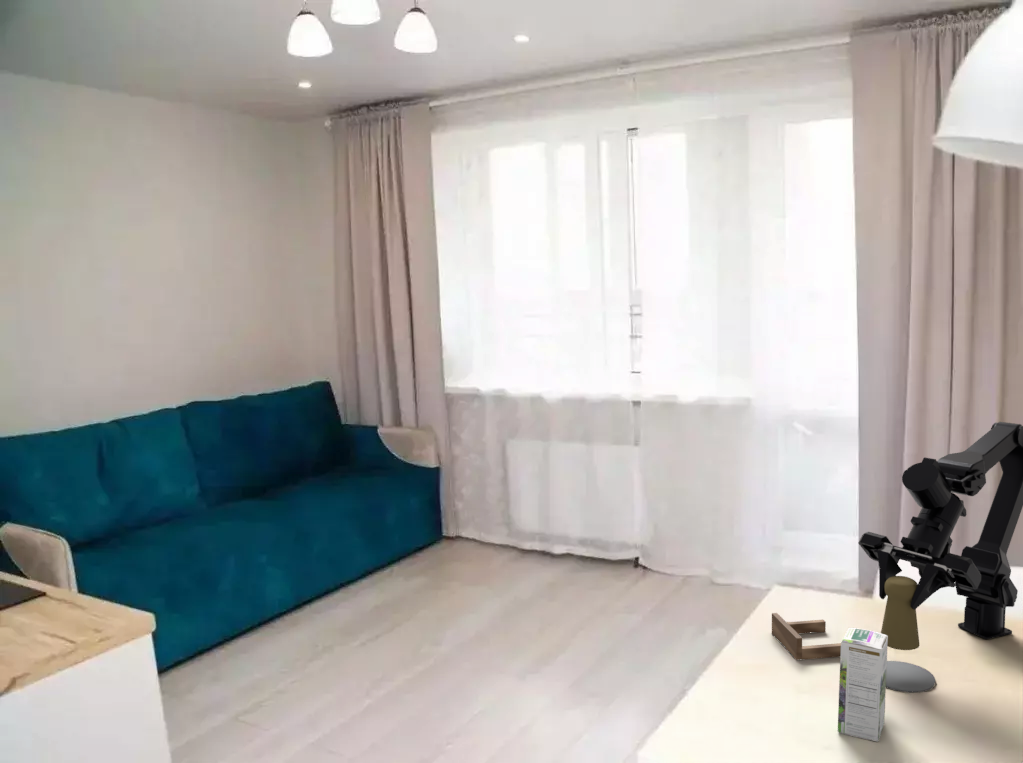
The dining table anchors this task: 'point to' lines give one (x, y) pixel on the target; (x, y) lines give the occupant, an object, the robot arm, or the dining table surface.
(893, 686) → the coaster
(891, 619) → the cork
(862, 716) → the syrup box
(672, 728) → the dining table surface
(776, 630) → the holder
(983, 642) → the dining table surface
